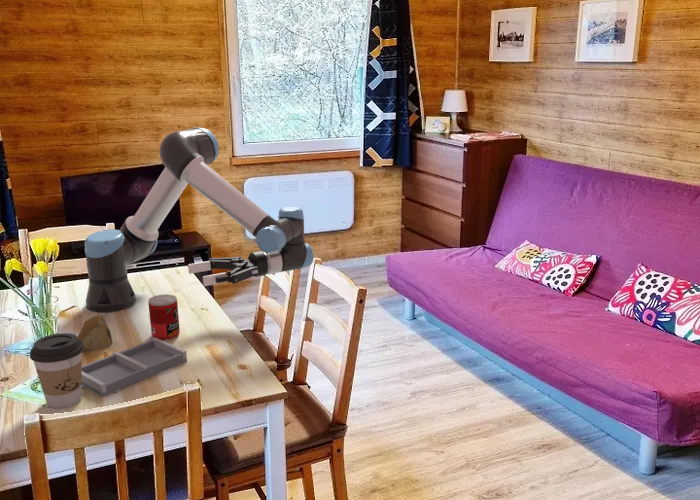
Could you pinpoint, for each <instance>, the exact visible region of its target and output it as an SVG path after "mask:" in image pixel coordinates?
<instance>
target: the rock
mask: <svg viewBox="0 0 700 500" xmlns="http://www.w3.org/2000/svg"><path fill="white" fill-rule="evenodd" d="M76 336H77V337H78V339H79V340H81V341H82V342H83V346H84V350H83V351H82V354H86V353H89V352H94V351H98V350H103V349H105V348H108V347H111V345H112V344H113V337H112V333H111V331H110V328H109V325H108V324H107V321H106V319H105V317H104V315H94V316H92V317H91V318H89V319H87V320H85V321H84V322H83V325H82V327H81V329H80V332H79V333H78V335H76Z"/></svg>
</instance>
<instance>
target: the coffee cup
mask: <svg viewBox="0 0 700 500" xmlns="http://www.w3.org/2000/svg"><path fill="white" fill-rule="evenodd" d="M77 336H78V335H76V334H74V333H69V332H64V333H63V332H59V333H54V334H53V333H52V334H50V335H49V334H48V335H45V336H42V337H41V338H39V339H37V340H36V341H35V342H34V343H33V347H32V348H31V349H30V351H29V359H30V360H31V361H33V364H34V367H35V370H36V374H37V376H38V380H39V383H40V386H41V390H42V392H43V396H44V400H45V402H46V404H47V406H48V407H49V408H51V409H55V410H56V409H59V410H60V409H61V410H62V409H66V408H70V407H72V406H73V407H74V406H75V405H76V404H79V402H80V401H81V397H82V391H83V390H82V387H83V385H82V366H83V353H82V351H83V350H84V346H83V342H82V341H81V340H79V339H78V337H77Z"/></svg>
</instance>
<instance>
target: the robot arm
mask: <svg viewBox="0 0 700 500" xmlns="http://www.w3.org/2000/svg"><path fill="white" fill-rule="evenodd" d="M219 152H220V147H219V142H218V139H217V138H216V136H215V135H214V133H212V131H210V129H207V128H204V127H192V128H188V129H182V130H178V131H177V130H176V131H173V132H170V133H168V134H167V135H166V136H165V137H164V138H163V139H162V141H161V143H160V145H159V156H160V160H161V163H162V164H163V166H164V169H163V170H162V172H161V173H160V175H159V176H158V178H157V180H156V181H155V183H154V184H153V186H152V187H151V189H150V191H149V192H148V194H147V195H146V197H145V199H144V200H143V201H142V203H141V205H140V206H139V208H138V210H137V211H136V212H135V214H134V215H131V216H128V217H127V218H126V219H125V221H124V222H123V223H122V225H121V227H120V229H113V228H111V229H103V230H99V231H95V232H93V233H91V234H90V235H87V237H86V239H85V240H84V254H85V260H86V267H87V275H88V282H89V283H88V288H87V291H86V292H87V293H86V298H85V307H86V309H87V310H88V311H92V312H98V313H109V312H116V311H121V310H125V309H128V308H130V307H131V306H133V305H134V304H135V303H136V302H137V300H136V298H137V297H136V294H135V291H134V289H133V287H132V285H131V282H130V281H129V279H128V269H127V266H130V265H131V264H134V263H136V262H138V261H141V260H143V259H146V258H147V257H149V256H150V255H151V254H152V253H153V252H154V251H155V250H156V249H157V245H158V238H159V234H160V233H159V230H158V229H160V226H161V225H162V223H163V222H164V220H165V219H166V217H167V216H168V214H169V213H170V211H171V210H172V209H173V207H174V206H175V204H176V202H177V201H178V200H179V198H180V196H181V195H182V193H183V192H184V190H186V187H188V184H189V185H190V186H191V187H192V188H193V189H195V190H197V191H198V192H199V193H200V194H201V195H203V197H205V198H206V199H208V201H210V202H211V203H212V204H214V205H215V206H216V208H217V207H218V208H219V209H220V210H221V211H223V212H224V213H225V214H226V215H227V216H228V217H230V218H231V219H232V220H233V221H235V222H236V223H237V224H238V225H239V226H241V227H242V228H244V229H245V230H246V231H247V232H249V233H250V235H252V236H253V237H254V239H255V243H256V245H257V247H258V248H259V251H252V252H250V253H249V254H248V258H247V259H246V258H242V256H231V257H230V256H229V257H209V258H208V260H207V261H206V260H205V261H201V262H196V263H195V262H194V263H189V264H187V268H188V274H190V275H191V274H197V273H202V272H207V271H209V272H212V271H213V270H227V271H226V272H220V273H214V274H208V275H203V276H202V283H203V287H207V286H213V285H218V284H224V283H232V284H237V283H240V282H243V281H245V280H248V279H250V278H252V277H255V278H258V277H264V276H266V275H273V276H275V275H276V274H278V273H283V272H288V271H297V270H301V269H305V268H309V267H310V266H311V265H313V262H314V255H315V254H314V252H313V247H312V246H311V245H310V244H309V243H306V241H305V240H306V239H305V218H304V210H303V209H302V208H301V207H300V206H299V207H298V206H286V207H281V208H280V209H279V210H278V217H277V218H278V219H274V218H273V217H272V216H271V215H269V214H268V213H267V212H266V211H264V210H263V209H262V208H261V207H260V206H258V205H257V204H256V203H255V202H253V201H252V200H251V199H250V198H248V197H247V196H246V195H245V194H244V193H242V192H241V191H240V190H238V189H237V188H236V187H235V186H234V185H232V184H231V183H230V182H228V181H227V180H226V179H225V178H224V177H223V176H221V175H220V174H219V173H218V172H217V171H215V170H214V169H212V168H211V166H209V165H210V164H212V163H213V162H214V161H216V160H217V158H218V156H219Z"/></svg>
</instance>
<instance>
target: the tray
mask: <svg viewBox="0 0 700 500" xmlns="http://www.w3.org/2000/svg"><path fill="white" fill-rule="evenodd" d="M187 357H188V355H187V350H185V349H183V348H181V347H178V346H176V345H173V344H171V343H168V342H167V341H165V340H160V339H157V338H155V337H152V338H150V340H148V341H145V342H143V343H141V344H138V345H135V346H132V347H128V348H125V349H123V350H121V351H116V350H115V351H113V352H112V354H111V355H108V356H105V357H102V358H100V359H97V360H94V361H92V362H90V363H87V364H84V365H82V387H85V388H87V389H88V390H90V391H92V392H93V393H96V394H97V395H99V396H100V397H102V398H103V397H106V396H108V395H111V394H113V393H115V392H118V391H120V390H123V389H125V388H128V387H129V386H132V385H134V384H137V383H139V382H142V381H144V380H147V379H150V378H151V377H153V376H156V375H159V374H160V373H163V372H165V371H168V370H170V369H173V368H175V367H177V366H180V365H182V364H185V363H186V362H188V359H187Z"/></svg>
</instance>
